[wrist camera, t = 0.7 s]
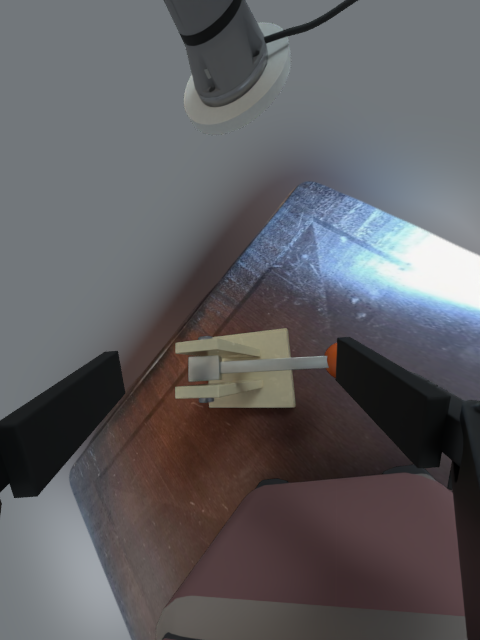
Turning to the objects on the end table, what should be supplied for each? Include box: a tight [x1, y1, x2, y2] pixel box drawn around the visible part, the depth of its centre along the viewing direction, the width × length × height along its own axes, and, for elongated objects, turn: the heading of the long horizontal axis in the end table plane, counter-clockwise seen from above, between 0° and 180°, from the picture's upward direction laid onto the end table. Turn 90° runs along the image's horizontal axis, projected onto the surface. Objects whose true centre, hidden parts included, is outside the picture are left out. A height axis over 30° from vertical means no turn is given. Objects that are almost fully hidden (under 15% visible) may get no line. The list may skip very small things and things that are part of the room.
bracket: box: [175, 328, 296, 408], centre depth 27 cm, size 12×10×14 cm
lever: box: [188, 343, 337, 382], centre depth 22 cm, size 16×4×4 cm, turn 93°
